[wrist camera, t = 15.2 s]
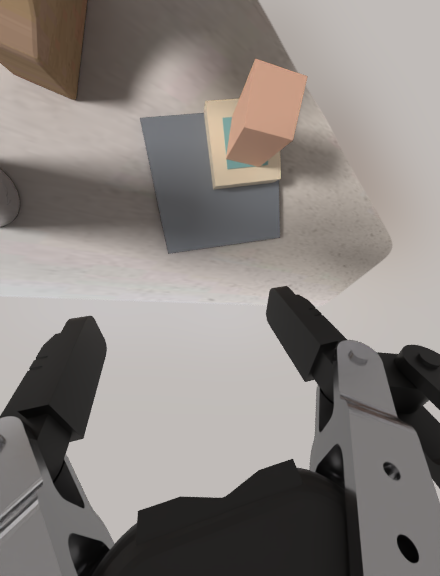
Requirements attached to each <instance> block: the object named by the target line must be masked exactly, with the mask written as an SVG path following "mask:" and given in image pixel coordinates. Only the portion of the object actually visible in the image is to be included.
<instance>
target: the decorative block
mask: <svg viewBox="0 0 440 576" xmlns="http://www.w3.org/2000/svg"><path fill="white" fill-rule="evenodd" d="M86 8H87V0H0V63H1V64H2V65H3V66H4V67H6V68H7V69H8V70H9V71H10V72H12V73H13V74H14V75H16V76H19V77H21V78H23V79H26V80H28V81H30V82H33V83H35V84H37V85H40V86H42V87H44V88H47V89H49V90H51V91H54V92H56V93H58V94H61V95H63V96H65V97H68V98H70V99H73V100H75V99H76V97H77V88H78V79H79V70H80V61H81V52H82V43H83V34H84V25H85V17H86Z"/></svg>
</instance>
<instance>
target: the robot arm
mask: <svg viewBox="0 0 440 576" xmlns="http://www.w3.org/2000/svg"><path fill="white" fill-rule="evenodd" d="M19 206H20V202H19V195H18V192H17V189H16V188H15V186H14V184H13V182H12V181H11V180H10V178H9V177H8V176H7V175H6V174H5V173H4V172H3V171H2V170H1V169H0V227H2V226H5V225H7V224H9V223H10V222H12V221H13V220H14V219H15V217H16V216H17V214H18V211H19ZM266 316H267V321H268V323H269V325H270V326H271V328H272V330H273V331H274V333H275V335H276V336H277V338H278V339H279V341H280V343H281V344H282V346H283V348H284V349H285V351H286V352H287V354H288V356H289V357H290V359H291V360H292V362H293V363H294V365H295V367H296V368H297V370H298V372H299V373H300V375H301V376H302V378H303V380H304V381H305V382H307V381H311V380H315V381H316V382H317V384H318V387H317V392H316V418H315V437H314V442H313V446H312V450H311V457H310V470H306V469H302V468H296V466H295V463H294V461H293V459H291V460H288V461H285V462H282V463H279V464H276V465H273V466H270V467H267V468H264V469H261V470H259V471H257V472H256V473H255V474H254V475H252V476H251V477H250V478H248V479H247V480H246V481H245V482H243V483H242V484H241V485H240V486H238V487H237V488H236V489H235V490H234V491H232V492H231V493H230V494H228V495H227V496H226V497H223V498H206V497H205V498H204V497H178V498H175V499H172V500H170V501H167V502H164V503H161V504H158V505H155V506H152V507H149V508H146V509H143V510H140V511H138V521H137V523H136V524H135V525H134V526H132V527H131V528H130V529H129V530H128V531H127V532H126V533H125V534H124V535H123V536H122V537H121V538H120V539H119V540H118V541H117V542H116V543H115V544H114V542H113V540H112V538H111V536H110V534H109V532H108V530H107V528H106V527H105V525H104V523H103V522H102V520H101V519H100V517H99V516H98V515H97V514H96V513H95V511H94V510H93V509H92V507H91V505H90V503H89V501H88V499H87V497H86V495H85V493H84V491H83V488H82V486H81V484H80V482H79V480H78V478H77V476H76V474H75V471H74V469H73V467H72V465H71V463H70V461H69V459H68V457H67V456H66V451H67V448H68V444H69V442H72V441H76V440H79V439H83V438H84V434H85V430H86V427H87V423H88V419H89V415H90V412H91V408H92V405H93V401H94V397H95V394H96V390H97V386H98V382H99V379H100V375H101V371H102V368H103V364H104V360H105V357H106V351H107V347H106V342H105V339H104V337H103V335H102V333H101V331H100V329H99V327H98V325H97V323H96V321H95V319H94V318H93V317H92V316H86V317H79V318H72V319H69V320H68V321H67V322H66V324H65V326H64V328H63V330H62V332H61V333H59V334H55V335H54V336H53V337H52V338H51V339H50V340H49V341H48V342H46V343H45V344H44V345H43V347H42V348H41V350H40V352H39V353H38V355H37V357H36V360H34V361H33V363H32V365H31V366H30V368H29V369H30V370H29V371H27V373H26V375H25V376H24V378H23V380H22V381H21V383H20V385H19V386H18V388H17V390H16V391H15V393H14V395H13V396H12V398H11V399H10V401H9V403H8V404H7V406H6V408H5V409H4V411H3V413H2V414H1V416H0V576H440V503H439V499H438V496H437V493H436V490H435V487H434V484H433V481H432V479H433V480H434V482H435V483H436V484H437V486H438V487H439V488H440V423H439V422H438V421H437V420H436V419H435V418H434V417H433V416H432V415H431V414H430V413H429V412H428V411H427V410H426V409H425V408H424V407H423V405H424V404H425V403H426V402H427V401H429V400H430V401H431V402H432V403H433V404H434V405H435V406H436V407H437V408H438V409H439V410H440V354H438V353H436V352H434V351H432V350H430V349H428V348H425V347H422V346H418V345H407V346H405V347H404V348H403V349H402V350H401V351H400V353H399V354H390V353H377V352H375V351H374V350H373V349H372V348H370V347H369V346H367V345H365V344H363V343H361V342H358V341H353V340H347V339H346V338H345V337H344V336H343V335H342V334H341V333H340V332H339V331H338V330H337V329H336V328H335V327H334V326H333V325H332V324H331V323H330V322H329V321H328V320H327V319H326V318H325V317H324V316H323V315H321V313H320V312H319V311H318V310H317V309H315V307H314V306H313V305H312V304H311V303H310V302H309V301H308V300H307V299H305V298H303V297H302V296H300V295H295V294H294V293H293V291H292V290H291V289H290V288H289V287H287V286H283V287H277V288H272V289H271V290H270V292H269V298H268V304H267V310H266Z"/></svg>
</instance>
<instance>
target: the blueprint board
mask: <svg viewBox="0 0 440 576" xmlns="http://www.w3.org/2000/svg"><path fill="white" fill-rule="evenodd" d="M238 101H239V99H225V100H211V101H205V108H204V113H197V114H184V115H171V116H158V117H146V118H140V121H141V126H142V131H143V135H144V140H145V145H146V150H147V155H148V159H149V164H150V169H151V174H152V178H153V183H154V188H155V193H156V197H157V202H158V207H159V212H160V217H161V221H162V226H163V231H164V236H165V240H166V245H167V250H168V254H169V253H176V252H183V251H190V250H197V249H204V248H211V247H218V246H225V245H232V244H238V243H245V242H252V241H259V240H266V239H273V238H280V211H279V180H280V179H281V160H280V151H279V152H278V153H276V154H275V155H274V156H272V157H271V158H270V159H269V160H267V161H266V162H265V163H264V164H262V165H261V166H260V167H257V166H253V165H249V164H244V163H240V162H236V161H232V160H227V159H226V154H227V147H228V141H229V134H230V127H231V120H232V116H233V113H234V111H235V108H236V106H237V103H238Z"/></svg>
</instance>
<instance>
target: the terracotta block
mask: <svg viewBox="0 0 440 576" xmlns="http://www.w3.org/2000/svg"><path fill="white" fill-rule="evenodd" d="M306 81H307V76H305V75H302V74H299V73H296V72H293V71H290V70H288V69H285V68H282V67H279V66H276V65H273V64H270V63H267V62H264V61H261V60H258V59H255V61H254V63H253V66H252V68H251V71H250V73H249V76H248V78H247V81H246V83H245V86H244V88H243V91H242V93H241V96H240V98H239V101H238V103H237V106H236V108H235V111H234V113H233V116H232V120H231V127H230V134H229V141H228V147H227V154H226V159H227V160H232V161H236V162H240V163H244V164H249V165H253V166H257V167H260V166H261V165H262V164H264V163H265V162H266V161H267V160H269V159H270V158H271V157H272V156H274V155H275V154H276V153H278V152H279V151H280V150H281V149H283V148H284V147H285V146H286V145H288V144H289V143H290V142H291V141H293V138H294V133H295V129H296V125H297V120H298V116H299V111H300V107H301V103H302V98H303V94H304V90H305V85H306Z"/></svg>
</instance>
